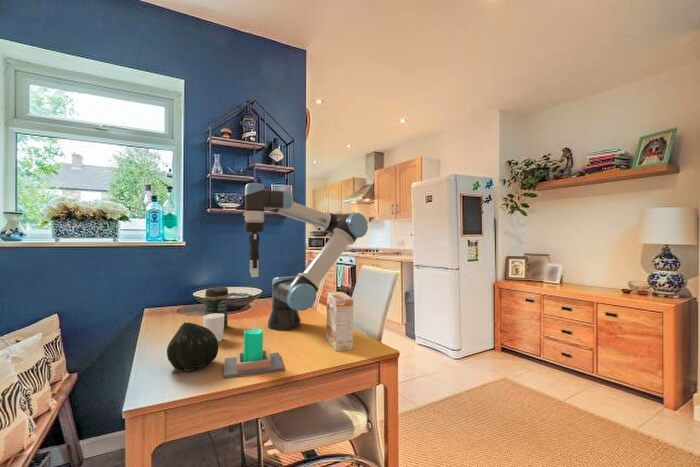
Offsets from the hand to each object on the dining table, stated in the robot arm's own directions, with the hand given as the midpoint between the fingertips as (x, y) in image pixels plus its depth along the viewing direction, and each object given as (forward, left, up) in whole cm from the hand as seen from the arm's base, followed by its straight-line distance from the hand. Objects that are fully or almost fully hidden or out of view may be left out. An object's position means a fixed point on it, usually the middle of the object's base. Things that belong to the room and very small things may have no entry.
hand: (253, 274), depth 133 cm
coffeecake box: (-32, +14, -27) cm, 44 cm away
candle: (+1, +25, -26) cm, 36 cm away
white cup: (+15, -5, -27) cm, 31 cm away
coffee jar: (+15, -23, -27) cm, 38 cm away
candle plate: (+1, +26, -27) cm, 37 cm away
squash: (+20, +20, -27) cm, 39 cm away
